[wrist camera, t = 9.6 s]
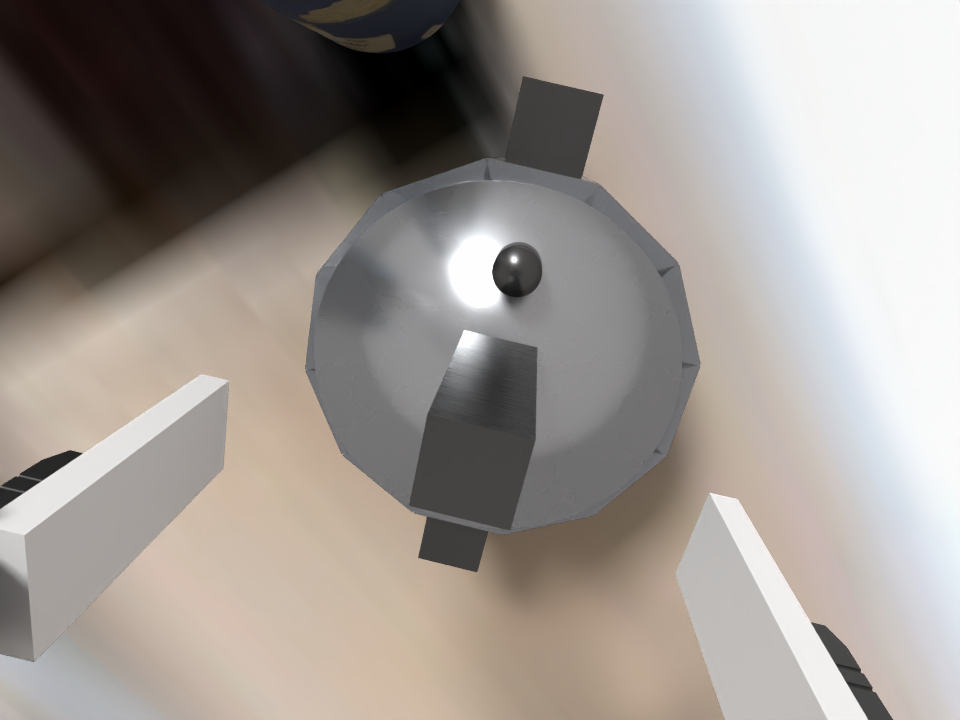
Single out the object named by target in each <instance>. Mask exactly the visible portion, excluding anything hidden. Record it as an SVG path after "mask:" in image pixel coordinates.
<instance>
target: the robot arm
mask: <svg viewBox="0 0 960 720" xmlns="http://www.w3.org/2000/svg"><path fill="white" fill-rule="evenodd" d="M228 391H229V381H228V380H224V379H220V378H216V377H211V376H207V375H203V374H201V375H199V376H198V377H196V378H195V379H193V380H192V381H190V382H189V383H187V384H186V385H184V386H183V387H181V388H180V389H178V390H177V391H175V392H174V393H172V394H171V395H169V396H168V397H167V398H165V399H164V400H162V401H161V402H159V403H158V404H156V405H155V406H153V407H152V408H150V409H149V410H147V411H146V412H144V413H143V414H141V415H140V416H138V417H137V418H135V419H134V420H132V421H131V422H129V423H128V424H126V425H125V426H123V427H122V428H120V429H119V430H117V431H116V432H114V433H113V434H111V435H110V436H108V437H107V438H105V439H104V440H102V441H101V442H99V443H98V444H97V445H95V446H94V447H92V448H91V449H89V450H88V451H86V452H85V453H79V452H75V451H71V450H69V451H67V452H64V453H61V454H58V455H55V456H52V457H49V458H46V459H43V460H41V461H40V462H38V463H36V464H35V465H33V466H32V467H30V468H28V469H27V470H25V471H24V472H22V473H20V476H19V477H14V478H12V479H11V480H9V481H8V482H6V483H5V484H3V485H2V487H1V488H0V654H2V655H7V656H11V657H15V658H19V659H23V660H28V661H32V662H35V661H36V660H37V659H38V658H39V657H40V656H41V655H42V654H43V653H44V652H45V651H46V650H47V649H48V648H49V647H50V645H51V644H52V643H53V642H54V641H55V640H56V639H57V638H58V637H59V636H60V635H61V634H62V633H63V632H64V631H65V630H66V629H67V628H68V627H69V626H70V625H71V624H72V623H73V622H74V621H75V620H76V619H77V618H78V617H79V616H80V615H81V614H82V613H83V612H84V611H85V610H86V609H87V608H88V607H89V606H90V605H91V603H92V602H93V601H94V600H95V599H96V598H97V597H98V596H99V595H100V594H101V593H102V592H103V591H104V590H105V589H106V588H107V587H108V586H109V585H110V584H111V583H112V582H113V581H114V580H115V579H116V578H117V577H118V576H119V575H120V574H121V573H122V572H123V571H124V570H125V569H126V568H127V567H128V566H129V565H130V564H131V562H132V561H133V560H134V559H135V558H136V557H137V556H138V555H139V554H140V553H141V552H142V551H143V550H144V549H145V548H146V547H147V546H148V545H149V544H150V543H151V542H152V541H153V540H154V539H155V538H156V537H157V536H158V535H159V534H160V533H161V532H162V531H163V530H164V529H165V528H166V527H167V526H168V525H169V524H170V523H171V522H172V520H173V519H174V518H175V517H176V516H177V515H178V514H179V513H180V512H181V511H182V510H183V509H184V508H185V507H186V506H187V505H188V504H189V503H190V502H191V501H192V500H193V499H194V498H195V497H196V496H197V495H198V494H199V493H200V492H201V491H202V490H203V489H204V488H205V487H206V486H207V485H208V484H209V483H210V482H211V481H212V479H213V478H214V477H215V476H216V475H217V474H218V473H219V472H220V471H221V470H222V469H223V467H224V451H225V436H226V421H227V406H228ZM675 575H676V578H677V581H678V583H679V586H680V589H681V592H682V595H683V598H684V601H685V604H686V607H687V610H688V613H689V616H690V619H691V622H692V625H693V628H694V631H695V633H696V636H697V639H698V642H699V645H700V648H701V651H702V654H703V657H704V660H705V663H706V666H707V669H708V672H709V675H710V678H711V681H712V684H713V686H714V689H715V692H716V695H717V698H718V701H719V704H720V707H721V710H722V713H723V716H724V719H725V720H893V719H892V717H891V716H890V714H889V713H888V711H887V710H886V708H885V706H884V705H883V703H882V702H881V700H880V699H879V697H878V695H877V694H876V692H873V691H872V686H871V684H870V683H869V681H868V680H867V678H866V677H865V675H864V674H863V673H861V669H860V667H859V666H858V664H857V662H856V661H855V659H854V658H853V656H852V655H851V653H850V651H849V650H848V648H847V647H846V646H845V645H844V644H843V643H842V642H841V641H840V640H839V639H838V638H837V637H836V636H835V635H834V634H833V633H832V632H831V631H830V630H829V629H828V628H827V627H826V626H824V625H820V624H816V623H812V622H810V621H809V619H808V617H807V616H806V614H805V612H804V611H803V609H802V607H801V605H800V604H799V602H798V600H797V599H796V597H795V595H794V594H793V592H792V590H791V589H790V587H789V585H788V584H787V582H786V580H785V578H784V577H783V575H782V573H781V572H780V570H779V568H778V567H777V565H776V563H775V562H774V560H773V558H772V557H771V555H770V553H769V551H768V550H767V548H766V546H765V545H764V543H763V541H762V540H761V538H760V536H759V535H758V533H757V531H756V530H755V528H754V526H753V524H752V523H751V521H750V519H749V518H748V516H747V514H746V513H745V511H744V509H743V508H742V506H741V504H740V503H739V501H738V499H734V498H730V497H726V496H722V495H717V494H713V493H709V495H708V497H707V500H706V502H705V504H704V507H703V509H702V512H701V514H700V516H699V519H698V521H697V524H696V526H695V528H694V531H693V533H692V535H691V538H690V540H689V543H688V545H687V547H686V550H685V552H684V555H683V557H682V559H681V562H680V564H679V567H678V569H677V571H676V574H675Z"/></svg>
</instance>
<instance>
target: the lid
mask: <svg viewBox="0 0 960 720" xmlns="http://www.w3.org/2000/svg"><path fill="white" fill-rule="evenodd" d="M314 361H315V373H316V379H317V383H318V388H319V392H320V397H321V399H322V402H323V405H324V408H325V410H326V413H327V416H328V418H329V420H330V422H331V424H332V426H333V428H334V430H335V432H336V434H337V436H338V437H339V439H340V440H341V442H342V443H343V445H344V446H345V448H346V449H347V451H348V452H349V454H350V455H351V456H352V457H353V458H354V460H355V461H356V462H357V463H358V464H359V465H360V466H361V468H362V469H363V470H364V471H365V472H366V473H367V474H368V475H369V476H371V477H372V478H373V479H374V480H375V481H376V482H377V483H378V484H379V485H381V486H382V487H383V488H385V489H386V490H387V491H389V492H390V493H392V494H393V495H394V496H396V497H397V498H399V499H401V500H402V501H404V502H406V503H408V504H409V506H411V507H415V508H417V509H419V510H421V511H424V512H426V513H428V514H431V515H433V516H435V517H438V518H442V519H445V520H448V521H452V522H455V523H459V524H465V525H470V526H475V527H485V528H499V529H506V530H511V528H523V527H529V526H536V525H543V524H546V523H550V522H554V521H557V520H561V519H565V518H567V517H570V516H572V515H575V514H577V513H579V512H582V511H584V510H586V509H588V508H590V507H592V506H594V505H595V504H597V503H599V502H601V501H603V500H604V499H606V498H607V497H608V496H610V495H611V494H613V493H614V492H615V491H617V490H618V489H619V488H621V487H622V486H623V485H624V484H625V483H626V482H627V481H628V480H630V479H631V478H632V477H633V476H634V475H635V474H636V473H637V472H638V471H639V470H640V468H641V467H642V466H643V465H644V464H645V462H646V461H647V460H648V459H649V458H650V456H651V455H652V453H653V452H654V450H655V449H656V447H657V445H658V444H659V442H660V441H661V439H662V437H663V436H664V433H665V431H666V429H667V427H668V425H669V422H670V420H671V418H672V416H673V412H674V409H675V405H676V402H677V399H678V395H679V389H680V382H681V375H682V343H681V336H680V329H679V323H678V320H677V316H676V313H675V310H674V306H673V303H672V300H671V297H670V295H669V293H668V291H667V289H666V287H665V285H664V282H663V280H662V278H661V276H660V275H659V273H658V272H657V270H656V269H655V267H654V266H653V264H652V262H651V261H650V259H649V258H648V256H647V255H646V254H645V253H644V252H643V251H642V249H641V248H640V247H639V246H638V245H637V244H636V243H635V241H634V240H633V239H632V238H631V237H630V236H629V235H628V234H627V233H626V232H625V231H623V230H622V229H621V228H620V227H619V226H618V225H616V224H615V223H614V222H613V221H612V220H611V219H609V218H608V217H607V216H605V215H604V214H602V213H600V212H599V211H597V210H596V209H594V208H593V207H591V206H590V205H588V204H586V203H584V202H582V201H580V200H578V199H576V198H573V197H571V196H569V195H567V194H565V193H563V192H559V191H556V190H553V189H549V188H546V187H543V186H540V185H535V184H529V183H523V182H516V181H501V180H483V181H474V182H466V183H459V184H455V185H451V186H447V187H443V188H439V189H435V190H432V191H430V192H427V193H425V194H423V195H420V196H418V197H415V198H413V199H411V200H408V201H407V202H405V203H403V204H401V205H400V206H398V207H396V208H395V209H393V210H391V211H390V212H388V213H386V214H385V215H384V216H383V217H381V218H380V219H379V220H378V221H376V222H375V223H374V224H373V225H371V226H370V227H369V228H368V229H367V230H366V231H365V232H364V233H363V234H362V235H361V236H360V237H359V238H358V239H357V240H356V241H355V242H354V243H353V245H352V246H351V247H350V248H349V250H348V251H347V252H346V254H345V255H344V257H343V258H342V260H341V261H340V262H339V264H338V265H337V267H336V269H335V271H334V273H333V275H332V277H331V279H330V281H329V283H328V285H327V287H326V290H325V293H324V296H323V299H322V302H321V304H320V307H319V312H318V317H317V322H316V328H315V339H314Z"/></svg>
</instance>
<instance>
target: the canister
mask: <svg viewBox="0 0 960 720" xmlns="http://www.w3.org/2000/svg"><path fill="white" fill-rule="evenodd" d="M260 1H262V2H264V3H265V4H267V5H268V6H270V7H271V8H273V9H274V10H276V11H278V12H280V13H281V14H283V15H285V16H287V17H289V18H291V19H293V20H294V21H296V22H298V23H300V24H302V25H304V26H306V27H307V28H309V29H311V30H313V31H315V32H317V33H319V34H321V35H323V36H325V37H327V38H329V39H330V40H332V41H334V42H336V43H338V44H340V45H343V46H345V47H348V48H350V49H353V50H357V51H362V52H369V53H390V52H396V51H401V50H404V49H407V48H409V47H412V46H414V45H416V44H418V43H420V42H422V41H423V40H425V39H427V38H429V37H430V36H431V35H432V34H434V33H435V32H436V31H437V30H438V29H439V28H440V27H441V26H442V25H443V24H444V23H445V22H446V21H447V19H448V18H449V17H450V16H451V14H452V13H453V11H454V10H455V8H456V7H457V5H458V3H459V2H460V0H260Z"/></svg>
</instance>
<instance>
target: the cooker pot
mask: <svg viewBox="0 0 960 720" xmlns="http://www.w3.org/2000/svg"><path fill="white" fill-rule="evenodd" d="M602 99H603V94H598V93H594V92H589V91H585V90H581V89H576V88H572V87H567V86H563V85H559V84H554V83H550V82H545V81H541V80H537V79H532V78H528V77H523V79H522V84H521V89H520V93H519V98H518V102H517V107H516V111H515V116H514V121H513V125H512V130H511V134H510V139H509V144H508V148H507V153H506V157H505V158H504V157H502V158H485V159H482V160H479V161H476V162H473V163H470V164H467V165H464V166H461V167H458V168H455V169H452V170H449V171H447V172H444V173H441V174H438V175H435V176H432V177H429V178H426V179H423V180H420V181H417V182H414V183H411V184H408V185H405V186H402V187H400V188H397V189H394V190H391V191H388V192H385V193H382V194H381V195H380V196H379V197H378V198H377V199H376V200H375V202H374V203H373V204H372V205H371V207H370V208H369V209H368V210H367V212H366V213H365V214H364V215H363V217H362V218H361V219H360V220H359V222H358V223H357V224H356V225H355V227H354V228H353V229H352V230H351V232H350V233H349V234H348V235H347V237H346V238H345V239H344V240H343V242H342V243H341V244H340V245H339V246H338V248H337V249H336V250H335V251H334V253H333V254H332V255H331V256H330V258H329V259H328V260H327V261H326V263H325V264H324V265H323V266H322V268H321V269H320V270H319V271H318V273H317V274H318V275H316V280H315V288H314V297H313V305H312V314H311V323H310V331H309V340H308V348H307V357H306V366H305V369H307V370H306V373H307V376H308V378H309V380H310V383H311V385H312V387H313V389H314V392H315V394H316V396H317V399H318V401H319V403H320V406H321V408H322V410H323V413H324V415H325V417H326V419H327V422H328V424H329V426H330V429H331V431H332V433H333V436H334V438H335V440H336V443H337V445H338V447H339V449H340V452H341V454H343V456H344V457H345V458H346V459H347V460H349V461H350V462H351V463H352V464H354V465H355V466H356V467H357V468H358V469H360V470H361V471H362V472H363V473H365V474H366V475H367V476H368V477H369V478H371V479H372V480H373V481H374V482H376V481H375V480H374V479H373V478H372V477H371V476H369V475H368V474H367V473H366V472H365V471H364V470H363V469H362V468H361V466H360V465H359V464H358V463H357V462H356V461H355V460H354V458H353V457H352V456H351V455H350V454H349V452H348V451H347V449H346V448H345V446H344V445H343V443H342V442H341V440H340V439H339V437H338V436H337V434H336V432H335V430H334V428H333V426H332V424H331V422H330V420H329V418H328V416H327V413H326V410H325V408H324V405H323V402H322V399H321V397H320V392H319V388H318V383H317V379H316V373H315V361H314V339H315V328H316V322H317V317H318V312H319V307H320V304H321V302H322V299H323V296H324V293H325V290H326V287H327V285H328V283H329V281H330V279H331V277H332V275H333V273H334V271H335V269H336V267H337V265H338V264H339V262H340V261H341V260H342V258H343V257H344V255H345V254H346V252H347V251H348V250H349V248H350V247H351V246H352V245H353V243H354V242H355V241H356V240H357V239H358V238H359V237H360V236H361V235H362V234H363V233H364V232H365V231H366V230H367V229H368V228H369V227H370V226H371V225H373V224H374V223H375V222H376V221H378V220H379V219H380V218H381V217H383V216H384V215H385V214H386V213H388V212H390V211H391V210H393V209H395V208H396V207H398V206H400V205H401V204H403V203H405V202H407V201H408V200H411V199H413V198H415V197H418V196H420V195H423V194H425V193H427V192H430V191H432V190H435V189H439V188H443V187H447V186H451V185H455V184H459V183H466V182H474V181H483V180H501V181H516V182H523V183H529V184H535V185H540V186H543V187H546V188H549V189H553V190H556V191H559V192H563V193H565V194H567V195H569V196H571V197H573V198H576V199H578V200H580V201H582V202H584V203H586V204H588V205H590V206H591V207H593V208H594V209H596V210H597V211H599V212H600V213H602V214H604V215H605V216H607V217H608V218H609V219H611V220H612V221H613V222H614V223H615V224H616V225H618V226H619V227H620V228H621V229H622V230H623V231H625V232H626V233H627V234H628V235H629V236H630V237H631V238H632V239H633V240H634V241H635V243H636V244H637V245H638V246H639V247H640V248H641V249H642V251H643V252H644V253H645V254H646V255H647V256H648V258H649V259H650V261H651V262H652V264H653V266H654V267H655V269H656V270H657V272H658V273H659V275H660V276H661V278H662V280H663V282H664V285H665V287H666V289H667V291H668V293H669V295H670V297H671V300H672V303H673V306H674V310H675V313H676V316H677V320H678V323H679V329H680V336H681V343H682V375H681V382H680V389H679V395H678V399H677V402H676V405H675V409H674V412H673V416H672V418H671V420H670V422H669V425H668V427H667V429H666V431H665V433H664V436H663V437H662V439H661V441H660V442H659V444H658V445H657V447H656V449H655V450H654V452H653V453H652V455H651V456H650V458H649V459H648V460H647V461H646V462H645V464H644V465H643V466H642V467H641V468H640V470H639V471H638V472H637V473H636V474H635V475H634V476H633V477H632V478H631V479H630V480H628V481H627V482H626V483H625V484H624V485H623V486H622V487H621V488H619V489H618V490H617V491H615V492H614V493H613V494H611V495H610V496H608V497H607V498H606V499H604V500H603V501H601V502H599V503H597V504H595V505H594V506H592V507H590V508H588V509H586V510H584V511H582V512H579V513H577V514H575V515H572V516H570V517H567V518H565V519H561V520H557V521H554V522H550V523H546V524H543V525H536V526H529V527H523V528H511V530H506V529H499V528H485V527H475V526H470V525H465V524H459V523H455V522H452V521H448V520H445V519H442V518H438V517H435V516H433V515H431V514H428V513H426V512H424V511H421V510H419V509H417V508H415V507H411V506H409V504H408V503H406V502H404V501H402V500H401V499H399V498H397V497H396V496H394V495H393V494H392V493H390V492H389V491H387V490H386V489H385V488H383V487H382V486H381V485H379V484H378V483H377V482H376V483H377V484H378V485H379V486H381V487H382V488H383V489H384V490H385V491H387V492H388V493H389V494H390V495H392V496H393V497H394V498H395V499H396V500H398V501H399V502H400V503H401V504H403V505H404V506H405V507H406V508H407V509H409V510H410V511H411V512H413V511H414V513H415V514H419V515H423V516H427V520H426V525H425V529H424V534H423V538H422V543H421V548H420V552H419V557H418V558H421V559H425V560H429V561H433V562H437V563H441V564H445V565H450V566H454V567H458V568H462V569H466V570H470V571H474V572H477V571H478V567H479V564H480V560H481V556H482V552H483V548H484V545H485V541H486V537H487V533H488V532H493V533H497V534H501V535H502V532H503V535H505V534H509V533H514V532H519V531H524V530H529V529H533V528H538V527H543V526H548V525H553V524H557V523H562V522H567V521H572V520H577V519H581V518H586V517H591V516H592V514H593V515H595V514H596V513H598V512H599V511H600V510H601V509H603V508H604V507H605V506H606V505H608V504H609V503H610V502H611V501H612V500H614V499H615V498H616V497H617V496H619V495H620V494H621V493H622V492H624V491H625V490H626V489H627V488H628V487H630V486H631V485H632V484H633V483H635V482H636V481H637V480H638V479H639V478H641V477H642V476H643V475H644V474H646V473H647V472H648V471H649V470H651V469H652V468H653V467H654V466H655V465H657V464H658V463H659V462H660V461H662V460H663V459H664V458H665V455H666V456H667V454H668V451H669V448H670V446H671V443H672V440H673V438H674V435H675V432H676V430H677V427H678V425H679V422H680V419H681V417H682V414H683V411H684V409H685V406H686V403H687V401H688V398H689V395H690V393H691V390H692V387H693V385H694V382H695V379H696V377H697V374H698V371H699V369H700V365H699V364H700V359H699V355H698V350H697V345H696V341H695V336H694V331H693V327H692V322H691V317H690V313H689V308H688V303H687V299H686V294H685V289H684V285H683V280H682V275H681V271H680V266H679V264H678V262H677V261H676V260H675V259H674V258H673V257H672V256H671V255H670V254H669V253H668V252H667V251H666V250H665V249H664V248H663V247H662V246H661V245H660V244H659V243H658V242H657V241H656V240H655V239H654V238H653V237H652V236H651V235H650V234H649V233H648V232H647V231H646V230H645V229H644V228H643V227H642V226H641V225H640V224H639V223H638V222H637V221H636V220H635V219H634V218H633V217H632V216H631V215H630V214H629V213H628V212H627V211H626V210H625V209H624V208H623V207H622V206H621V205H620V204H619V203H618V202H617V201H616V200H615V199H614V198H613V197H612V196H611V195H610V194H609V193H608V192H607V191H606V190H605V189H604V188H603V187H602V186H601V185H600V184H598V183H596V182H594V181H592V180H590V179H588V178H586V177H584V176H582V175H583V171H584V167H585V163H586V160H587V156H588V152H589V148H590V144H591V141H592V137H593V133H594V129H595V126H596V122H597V118H598V114H599V110H600V107H601V103H602Z"/></svg>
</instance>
